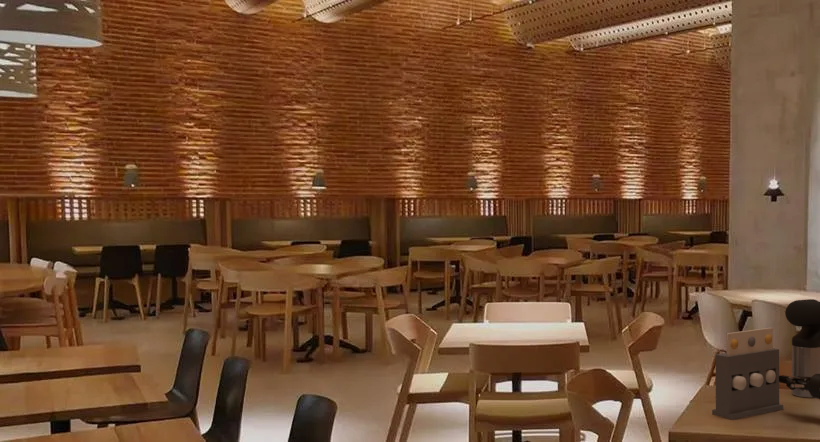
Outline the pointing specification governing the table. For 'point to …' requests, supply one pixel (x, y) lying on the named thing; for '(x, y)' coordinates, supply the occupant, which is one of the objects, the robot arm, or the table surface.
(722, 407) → the button panel
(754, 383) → the middle button
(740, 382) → the button
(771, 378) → the button
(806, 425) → the table surface
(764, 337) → the card
